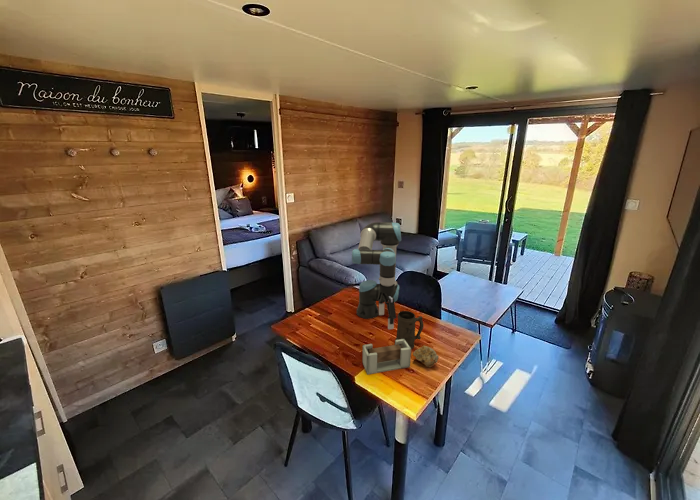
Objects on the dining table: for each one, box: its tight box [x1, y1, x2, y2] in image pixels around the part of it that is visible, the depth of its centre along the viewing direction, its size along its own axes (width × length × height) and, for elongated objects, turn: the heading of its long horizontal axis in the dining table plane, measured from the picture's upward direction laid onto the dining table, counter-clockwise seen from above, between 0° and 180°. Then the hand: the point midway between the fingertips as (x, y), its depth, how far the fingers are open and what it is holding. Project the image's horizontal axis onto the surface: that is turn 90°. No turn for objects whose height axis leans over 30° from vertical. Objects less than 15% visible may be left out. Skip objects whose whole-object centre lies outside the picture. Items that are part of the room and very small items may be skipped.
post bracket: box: [361, 339, 412, 376], centre depth 154 cm, size 9×23×11 cm, turn 103°
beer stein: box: [395, 310, 424, 350], centre depth 170 cm, size 15×11×20 cm
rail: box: [368, 344, 404, 363], centre depth 154 cm, size 18×4×6 cm, turn 103°
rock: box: [412, 345, 440, 368], centre depth 155 cm, size 12×10×10 cm
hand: (385, 321), depth 152 cm, fingers open, 13 cm apart
